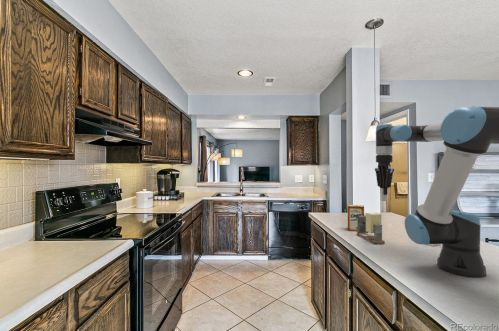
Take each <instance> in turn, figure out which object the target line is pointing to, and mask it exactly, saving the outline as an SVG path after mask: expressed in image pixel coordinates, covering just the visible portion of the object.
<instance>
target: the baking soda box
mask: <svg viewBox="0 0 499 331" xmlns="http://www.w3.org/2000/svg"><path fill="white" fill-rule="evenodd" d="M358 216H365V206H364V205H362V204H347V231H348V232H355V233H358Z"/></svg>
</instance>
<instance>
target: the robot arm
mask: <svg viewBox="0 0 499 331" xmlns="http://www.w3.org/2000/svg"><path fill="white" fill-rule="evenodd" d="M375 127H376V128H375V154H376V155H375V163H377V167H375V168H374V171H375V177H376V184H377V187H379V188H380V191H379V192H380V202H388V189H389V188H391V187H392V181H393V174H394V172H395V168H392V166H391V163H393V143H397V142H398V143H399V142H406V143H408V142H409V143H410V142H415V143H416V142H420V143H421V142H422V143H429V142H442V141H443V143H442V144H443V145H444V146H443V147H445V148H446V149H445V152H444V154H443V157H442V159H441V161H440V164H439V166H438V169H437V171H436V174H435V176H434V179H433V181H432V183H431V186H430V188H429V191H428V193H427V196H426V198H425V200H424V202H423V204H420V205H418V206H417V208H416V210H415V213H410V214H408V215H406V216H405V217H404V229H405V231H406V234H407V237H408V238H409V239H410V240H411V241H412V242H413V243H415V244H417V245H425V246H429V245H428V244H440V245H442V246H441V249H440V252H439V256H438V257H437V261H436V266H437V267H438V268H440V269H441V270H444V271H445V272H448V273H450V274H454V275H458V276H463V277H471V278H481V277H483V278H484V277H485V276H487V267H486V266H485V264H484V261H483V258H482V255H481V226H482V224H481V220H480V217H479V215H477V214H476V213H472V212H467V211H460V210H454V206H455V205H456V203H457V200H458V198H459V196H460V194H461V192H462V190H463V188H464V186H465V184H466V182H467V179H468V178H469V175H470V173H471V171H472V169H473V167H474V165H475V163H476V161H477V158H478V157H481V156H482V155H485V154H487V152H488V150H489V149H490V148H489V147H490V146H491V144H492V145H495V144H499V107H498V106H497V107H496V106H476V105H474V106H473V105H472V106H464V107H463V106H461V107H458V108H455V109H454V110H452V111H451V112H449V113H448V114H447V115H446V116H445V117H444V119H443V120H442V122H441V123H434V124H433V123H432V124H427V125H407V124H396V125H393V124H392V123H382V124H381V123H380V124H378V125H376V126H375Z"/></svg>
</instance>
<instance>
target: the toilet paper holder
mask: <svg viewBox="0 0 499 331" xmlns="http://www.w3.org/2000/svg"><path fill="white" fill-rule="evenodd" d="M373 229H374V233H373V234H372V233H369V232H367V231H366V215H364V216H358V232H356V236H358V237H359V238H361V239H363V240H365V241H367V242H369V243H371V244H373V245H385V244H386V242H385V240H383V224H382V223H381V224H374V225H373Z"/></svg>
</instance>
